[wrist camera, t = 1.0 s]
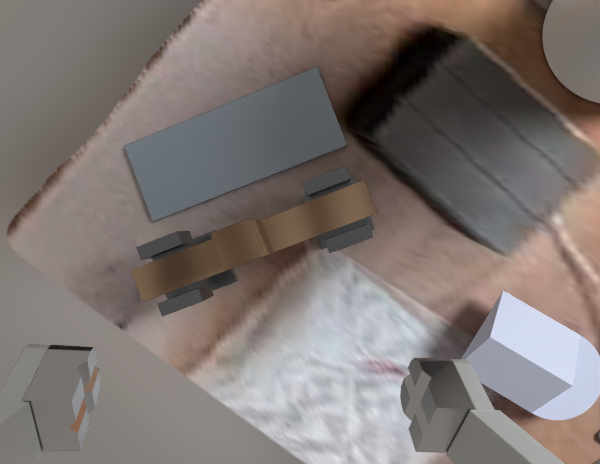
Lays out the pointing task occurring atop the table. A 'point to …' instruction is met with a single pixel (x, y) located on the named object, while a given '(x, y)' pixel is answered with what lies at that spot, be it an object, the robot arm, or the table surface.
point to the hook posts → (204, 287)
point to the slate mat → (235, 144)
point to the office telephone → (599, 462)
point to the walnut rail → (253, 240)
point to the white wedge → (535, 361)
